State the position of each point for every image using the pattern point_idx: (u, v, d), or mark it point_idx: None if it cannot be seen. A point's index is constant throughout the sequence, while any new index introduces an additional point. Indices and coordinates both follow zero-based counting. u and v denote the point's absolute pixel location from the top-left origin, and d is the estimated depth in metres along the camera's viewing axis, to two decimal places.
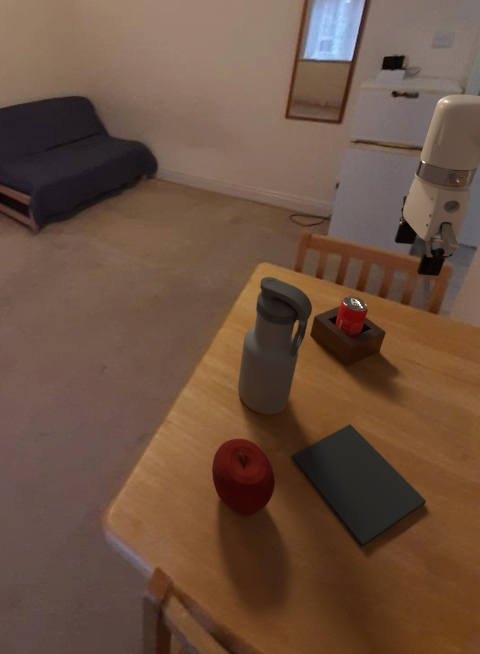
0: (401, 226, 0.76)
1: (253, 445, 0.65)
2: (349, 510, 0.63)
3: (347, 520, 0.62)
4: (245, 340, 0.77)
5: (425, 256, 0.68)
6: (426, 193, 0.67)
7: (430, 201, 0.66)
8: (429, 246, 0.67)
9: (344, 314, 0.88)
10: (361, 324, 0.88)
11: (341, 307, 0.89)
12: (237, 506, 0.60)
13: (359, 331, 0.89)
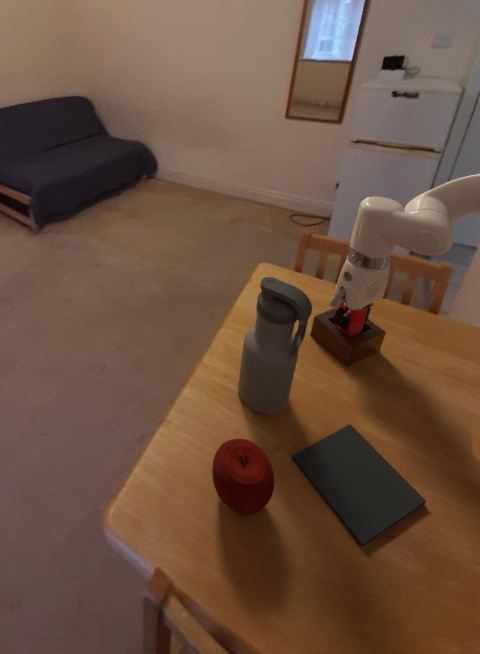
0: None
1: (253, 445, 0.65)
2: (349, 510, 0.63)
3: (347, 520, 0.62)
4: (245, 340, 0.77)
5: None
6: None
7: None
8: None
9: None
10: (361, 324, 0.88)
11: None
12: (237, 506, 0.60)
13: (359, 331, 0.89)
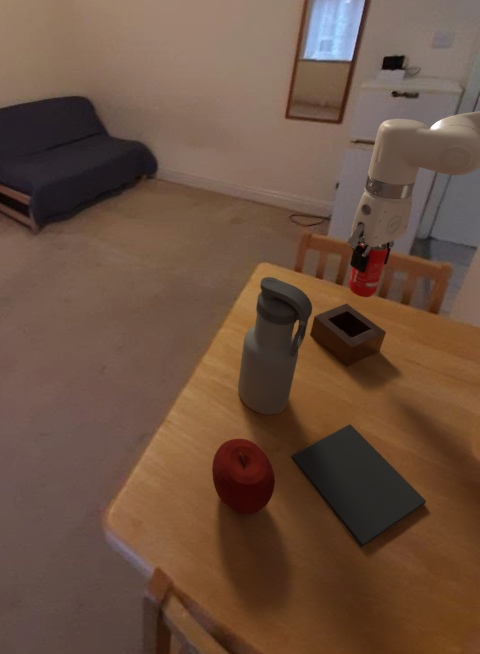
0: None
1: (253, 445, 0.65)
2: (349, 510, 0.63)
3: (347, 520, 0.62)
4: (245, 340, 0.77)
5: (354, 250, 0.82)
6: None
7: None
8: None
9: None
10: (381, 266, 0.81)
11: None
12: (237, 506, 0.60)
13: (378, 274, 0.82)
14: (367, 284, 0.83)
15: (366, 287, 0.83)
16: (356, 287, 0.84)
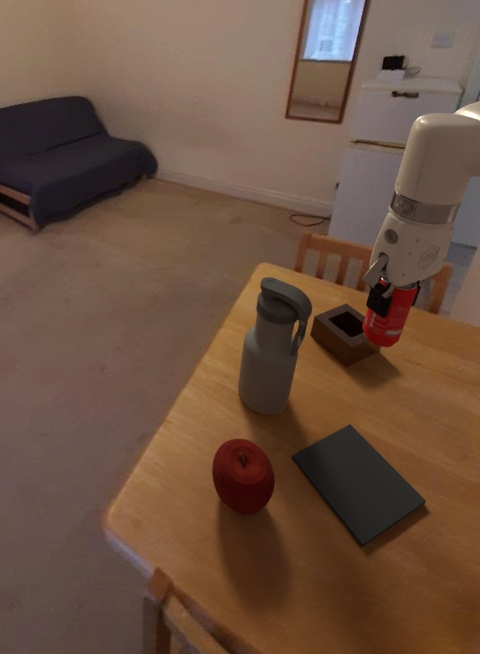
0: None
1: (253, 445, 0.65)
2: (349, 510, 0.63)
3: (347, 520, 0.62)
4: (245, 340, 0.77)
5: None
6: None
7: None
8: None
9: None
10: (407, 309, 0.61)
11: None
12: (237, 506, 0.60)
13: (404, 319, 0.62)
14: (387, 332, 0.63)
15: (386, 336, 0.63)
16: (373, 334, 0.64)
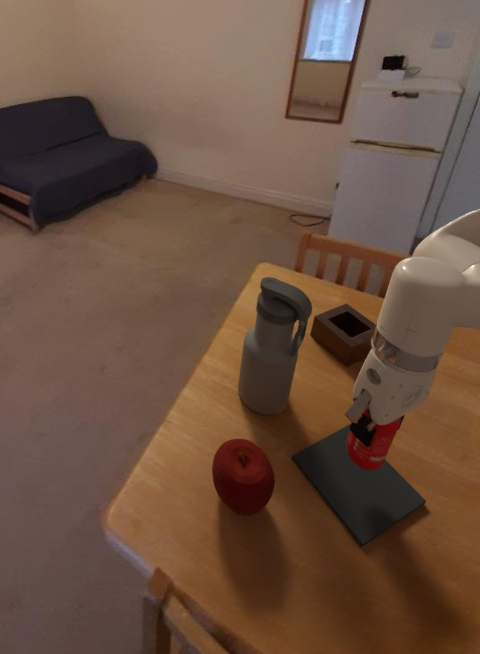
0: None
1: (253, 445, 0.65)
2: (349, 510, 0.63)
3: (347, 520, 0.62)
4: (245, 340, 0.77)
5: None
6: None
7: None
8: None
9: None
10: (391, 439, 0.59)
11: None
12: (237, 506, 0.60)
13: (388, 447, 0.60)
14: (371, 458, 0.61)
15: (370, 461, 0.61)
16: (357, 457, 0.63)
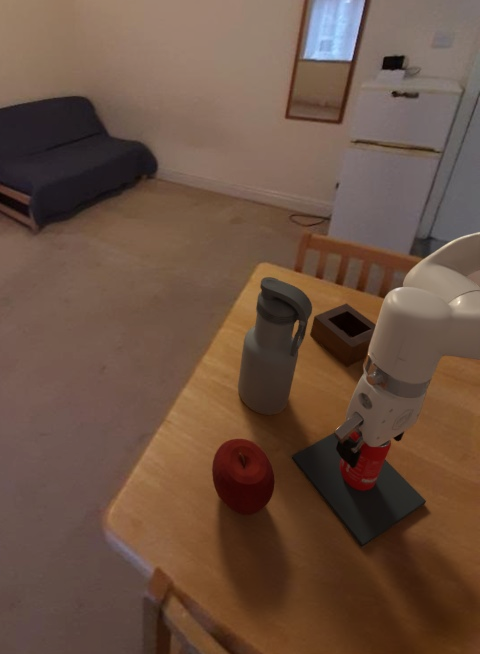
0: None
1: (253, 445, 0.65)
2: (349, 510, 0.63)
3: (347, 520, 0.62)
4: (245, 340, 0.77)
5: None
6: None
7: None
8: None
9: None
10: (381, 462, 0.62)
11: (353, 435, 0.63)
12: (237, 506, 0.60)
13: (378, 470, 0.63)
14: (363, 480, 0.64)
15: (362, 483, 0.64)
16: (349, 479, 0.65)
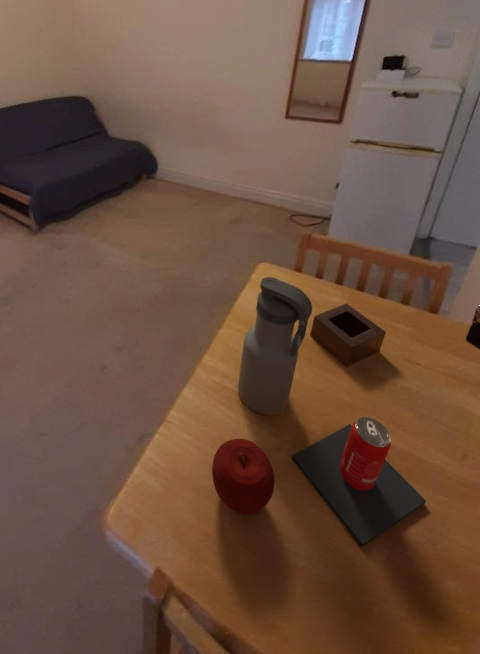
0: None
1: (253, 445, 0.65)
2: (349, 510, 0.63)
3: (347, 520, 0.62)
4: (245, 340, 0.77)
5: None
6: None
7: None
8: None
9: (357, 447, 0.62)
10: (381, 462, 0.62)
11: (353, 435, 0.63)
12: (237, 506, 0.60)
13: (378, 470, 0.63)
14: (363, 480, 0.64)
15: (362, 483, 0.64)
16: (349, 479, 0.65)
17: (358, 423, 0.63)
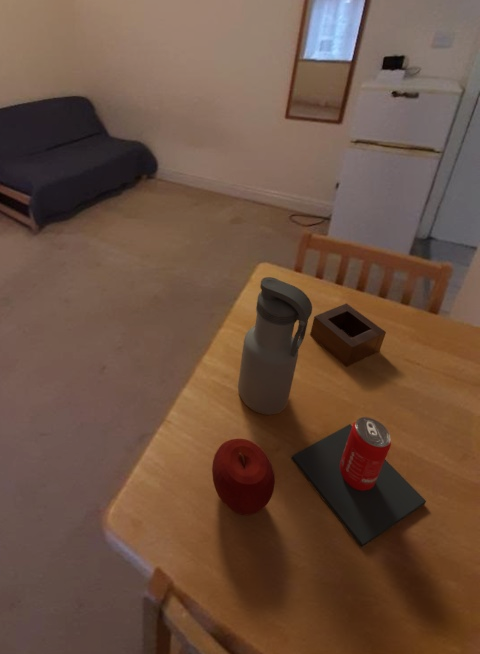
0: None
1: (253, 445, 0.65)
2: (349, 510, 0.63)
3: (347, 520, 0.62)
4: (245, 340, 0.77)
5: None
6: None
7: None
8: None
9: (357, 447, 0.62)
10: (381, 462, 0.62)
11: (353, 435, 0.63)
12: (237, 506, 0.60)
13: (378, 470, 0.63)
14: (363, 480, 0.64)
15: (362, 483, 0.64)
16: (349, 479, 0.65)
17: (358, 423, 0.63)
